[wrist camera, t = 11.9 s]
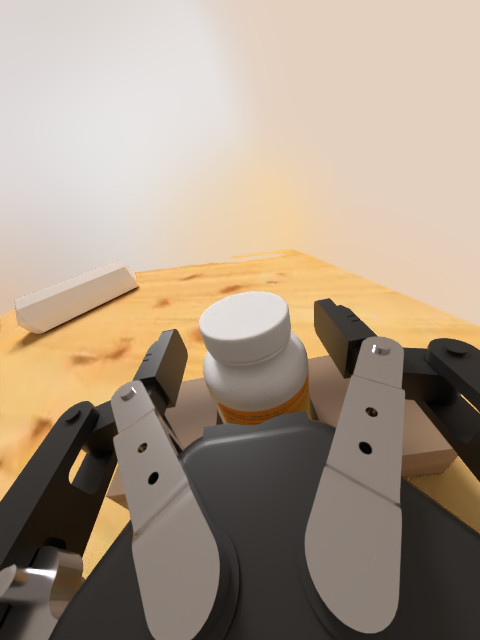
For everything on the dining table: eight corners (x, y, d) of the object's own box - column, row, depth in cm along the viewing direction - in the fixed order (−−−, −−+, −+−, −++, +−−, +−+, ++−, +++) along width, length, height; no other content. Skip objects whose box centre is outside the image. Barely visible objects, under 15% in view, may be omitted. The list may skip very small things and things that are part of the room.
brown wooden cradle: (443, 472, 11) (465, 447, 9) (133, 513, 12) (106, 496, 11) (368, 373, 17) (373, 347, 15) (165, 408, 18) (150, 387, 16)
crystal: (123, 268, 54) (11, 314, 40) (126, 255, 48) (-4, 304, 34) (141, 291, 55) (38, 343, 41) (146, 281, 50) (28, 338, 36)
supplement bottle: (328, 432, 13) (337, 302, 8) (266, 498, 11) (219, 382, 6) (272, 383, 17) (253, 276, 12) (219, 424, 15) (167, 317, 10)
